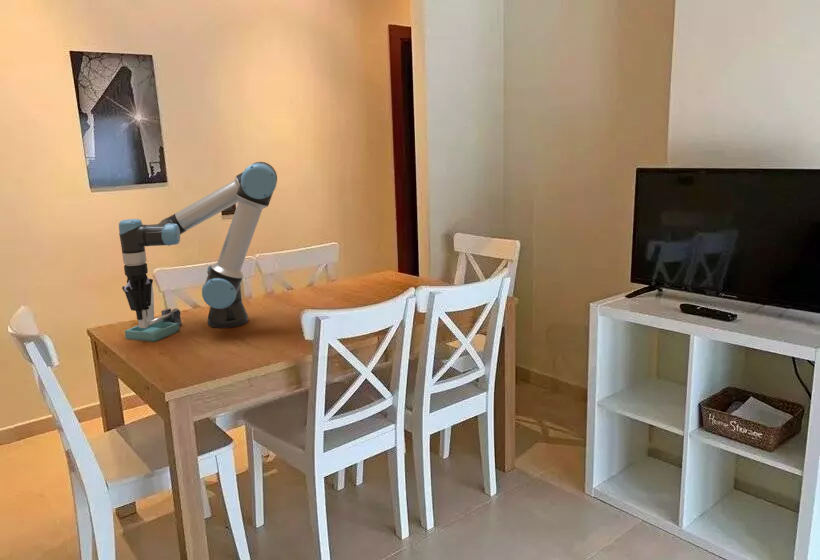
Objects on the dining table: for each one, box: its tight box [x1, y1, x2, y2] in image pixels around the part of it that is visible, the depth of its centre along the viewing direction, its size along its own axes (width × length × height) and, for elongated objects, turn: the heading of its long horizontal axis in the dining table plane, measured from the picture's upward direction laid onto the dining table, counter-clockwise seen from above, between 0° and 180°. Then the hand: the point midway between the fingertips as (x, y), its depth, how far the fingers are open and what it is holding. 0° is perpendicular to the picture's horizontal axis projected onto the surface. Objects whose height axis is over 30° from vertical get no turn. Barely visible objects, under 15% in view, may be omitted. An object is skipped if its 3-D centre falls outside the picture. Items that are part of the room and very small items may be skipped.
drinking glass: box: [147, 285, 155, 321], centre depth 249 cm, size 7×7×15 cm
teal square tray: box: [124, 320, 180, 343], centre depth 235 cm, size 13×13×3 cm
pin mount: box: [160, 307, 182, 328], centre depth 244 cm, size 6×4×6 cm, turn 70°
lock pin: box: [148, 308, 180, 327], centre depth 240 cm, size 3×16×3 cm, turn 160°
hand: (143, 327), depth 230 cm, fingers closed
